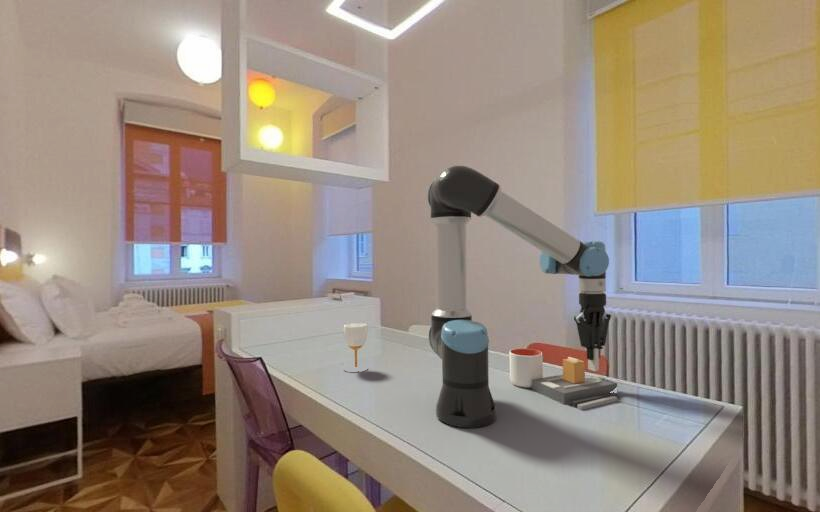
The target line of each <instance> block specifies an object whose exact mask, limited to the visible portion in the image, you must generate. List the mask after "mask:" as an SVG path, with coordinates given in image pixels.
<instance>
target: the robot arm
mask: <svg viewBox="0 0 820 512" xmlns="http://www.w3.org/2000/svg"><path fill="white" fill-rule="evenodd" d="M427 200H428V205H429V207H430V221H431V222H432V223H433V224H434V225H435V234H436V235H435V240H436V241H435V242H436V243H435V247H436V249H435V251H436V253H435V255H436V256H435V259H436V261H435V262H436V268H435V270H436V272H435V273H436V274H435V275H436V278H435V279H436V285H435V286H436V308H435V309H434V310H433V311H432V312H431V322H430V323H431V325H430V328H429V329H428V341H429V345H430V348H431V349H432V351H433V352H434V354H436V355H437V356H438V357H439V358H440V360H441V362H442V363H441V364H442V365H441V366H442V368H441V369H442V374H441V375H442V376H441V377H442V384H441V389H440V392H439V395H438V399H437V403H436V405H435V406H436V407H435V415H437V416H436V418H437V417H438V418H439V419H440V420H441V421H443V422H445V423H448V424H450V425H449V426H451V425H454V426H453V427H455V426H460V427H459V428H463V427H469V428H468V429H472V428H473V427H474V428H475V429H476V428H483V427H486V426H489V425H491V424H493V423H494V422H495V421H496V420H497V406H496V404H495V402H494V398H493V395H492V393H491V389H490V386H489V383H490V382H489V343H490V339H489V335H488V328H487V327H486V326H485V325H484V324H483V323H482V322H478V321H474V320H473V316H472V315H473V314H472V312H471V311H469V309H468V307H467V224H469V222H470V221H471V220H472V214H474V215H476V217H479V218H480V217H485V218H487V219H488V220H491V221H493V222H494V223H495V224H497V225H499V226H500V227H502V228H503V229H505V230H507V231H509V232H511V233H512V234H513V235H515V236H516V237H518V238H520V239H521V240H524V241H525V243H526V242H527V243H528V244H530V245H531V246H533V247H535V248H536V249H538V250H540V251H541V253H540V256H539V266H540V270H541V271H542V272H543V273H545V274H547V275H548V274H549V275H555V274H556V275H560V274H563V275H575V276H576V275H578V291H579V293H578V304H579V305H580V310H579V312H580V313H579V314H578V315H574V316H573V319H574V320H573V321H575V323H576V327H577V332H578V333H577V334H578V338H579V344H580V346H581V347H583V348H586V359H587V369H588V370H590V371H593V372H600V361H599V359H600V357H601V355H600V354H601V353H600V350H603V349H604V347H605V346H606V341H607V336H608V329H609V323H610V320H611V318H612V314H609V313H607V312H606V309H605V306H607V294H606V293H605V292H606V290H607V289H606V288H607V287H606V286H607V285H606V284H607V282H606V281H607V280H606V279H607V278H606V276H607V275H606V274H607V272H606V271H607V269H608V268H609V264H610V258H609V255H608V253H607V252H606V251H607V250H606V244H605V243H604V242H603V241H581V240H579V239H578V238H576V237H575V236H572V235H571V234H570V233H568V232H566V231H564V230H563V229H561V228H560V227H558V226H557V225H555V224H554V223H552V222H550V220H548V219H546V218H544V217H543V216H541V215H540V214H538V213H536V212H535V211H533V210H532V209H531V208H530V207H529V208H528V207H527V206H526V205H524V204H522V203H521V202H519V201H518V200H516V199H515V198H513V197H511V196H509V195H508V194H507V193H505V192H503V190H502V189H501V186H500V184H498V183H497V182H495V180H492V179H491V178H489V177H488V176H487V175H484V174H483V173H481V172H480V171H477V170H476V169H473V168H472V167H469V166H466V165H453V166H450V167H449V168H447V169H445V170H444V171H443V172H442V173H441V174H440V175H439V176H436V178H435V179H434V180H432V182H431V184H430V186H429V188H428V193H427ZM438 418H437V419H438ZM439 419H438V420H439ZM440 420H439V421H440ZM441 421H440V422H441ZM443 422H442V423H443ZM445 423H444V424H445ZM448 424H447V425H448ZM471 427H472V428H471Z"/></svg>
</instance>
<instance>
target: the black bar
mask: <svg viewBox="0 0 820 512" xmlns="http://www.w3.org/2000/svg"><path fill="white" fill-rule="evenodd" d="M611 396H615V397H617V399H619V393H618V392H617V393H614V392H613V393H608V394H603V395H598V396H593V397H588V398H583V399H578V400H573V401H571V403H570V406H571V407H573V408H577V405H578V404H582V403H586V402H590V401H594V400H598V399H602V398H606V397H611Z"/></svg>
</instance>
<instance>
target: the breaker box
mask: <svg viewBox="0 0 820 512" xmlns="http://www.w3.org/2000/svg"><path fill="white" fill-rule="evenodd" d="M592 374H593V373H592ZM593 375H595V374H593ZM597 376H598V377H597ZM597 376H596V377H592V378H585V382H581V383H576V384H574V383H571V382H568V381H566V380H563V374H557V375H552V376H546V377H543V378H539V379H533V380H532V388H531V390H533V391H535V392H537V393H538V394H540V395H543V396H545V397H546V398H547V397H548V398H549V399H552V400H553V401H556V402H558V403H560V404H562V405H567V404H571V401H573V400H578V399H583V398H588V397H593V396H598V395H603V394H608V393H610V392H611V391H613V390H614V389H615V388H616V387H617V388H618V383H617V382H615V381H612V380H609V379H606V377H603V376H600V375H597ZM593 378H594V379H593ZM605 379H606V380H605Z"/></svg>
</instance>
